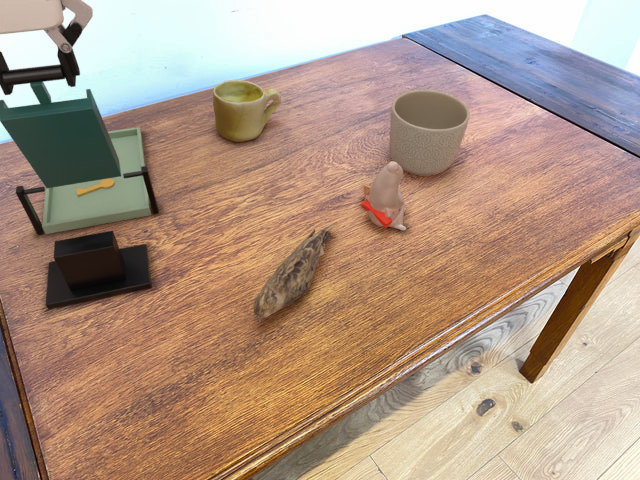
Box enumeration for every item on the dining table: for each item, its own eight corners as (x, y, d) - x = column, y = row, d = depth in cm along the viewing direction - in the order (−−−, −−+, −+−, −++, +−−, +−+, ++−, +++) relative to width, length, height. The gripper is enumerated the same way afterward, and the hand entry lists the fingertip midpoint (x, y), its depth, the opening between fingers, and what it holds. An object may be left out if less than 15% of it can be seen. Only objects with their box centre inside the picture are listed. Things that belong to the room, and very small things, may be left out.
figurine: (420, 220, 79) (429, 165, 70) (390, 245, 77) (396, 191, 67) (377, 189, 84) (380, 134, 74) (348, 212, 81) (347, 158, 71)
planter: (387, 185, 85) (395, 129, 78) (381, 142, 94) (389, 88, 86) (461, 187, 85) (477, 131, 78) (449, 144, 94) (462, 90, 86)
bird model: (285, 332, 60) (254, 304, 60) (263, 343, 65) (234, 317, 64) (360, 224, 73) (336, 200, 73) (338, 239, 78) (314, 217, 77)
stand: (168, 284, 69) (156, 242, 63) (29, 313, 65) (2, 271, 60) (158, 207, 80) (146, 165, 74) (38, 228, 76) (16, 186, 70)
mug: (209, 143, 89) (213, 84, 85) (209, 127, 98) (214, 74, 94) (278, 151, 92) (286, 94, 88) (273, 135, 101) (279, 84, 97)
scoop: (82, 82, 56) (79, 58, 57) (-19, 95, 54) (-20, 69, 55) (121, 176, 73) (118, 156, 75) (46, 188, 71) (45, 167, 73)
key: (116, 183, 83) (116, 185, 83) (111, 176, 84) (111, 178, 84) (79, 197, 80) (80, 199, 80) (74, 189, 81) (75, 191, 82)
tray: (151, 215, 79) (149, 207, 78) (45, 234, 75) (41, 226, 74) (141, 134, 94) (139, 126, 93) (53, 147, 91) (50, 139, 89)
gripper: (70, -111, 51) (118, 61, 64) (-129, -102, 47) (-36, 79, 60) (68, -93, 46) (120, 91, 59) (-156, -81, 42) (-48, 112, 55)
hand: (41, 83), depth 59 cm, fingers closed on scoop, 6 cm apart
